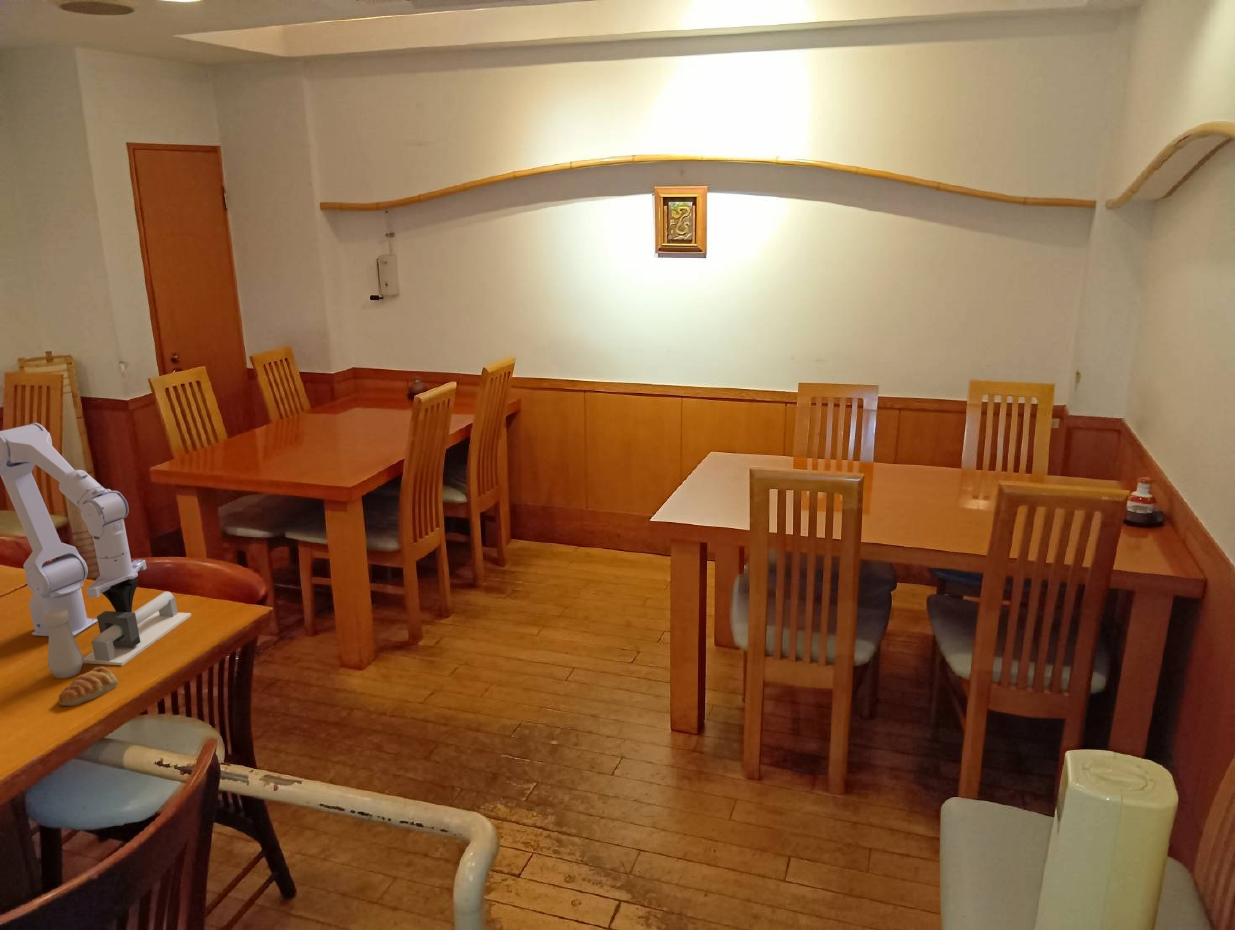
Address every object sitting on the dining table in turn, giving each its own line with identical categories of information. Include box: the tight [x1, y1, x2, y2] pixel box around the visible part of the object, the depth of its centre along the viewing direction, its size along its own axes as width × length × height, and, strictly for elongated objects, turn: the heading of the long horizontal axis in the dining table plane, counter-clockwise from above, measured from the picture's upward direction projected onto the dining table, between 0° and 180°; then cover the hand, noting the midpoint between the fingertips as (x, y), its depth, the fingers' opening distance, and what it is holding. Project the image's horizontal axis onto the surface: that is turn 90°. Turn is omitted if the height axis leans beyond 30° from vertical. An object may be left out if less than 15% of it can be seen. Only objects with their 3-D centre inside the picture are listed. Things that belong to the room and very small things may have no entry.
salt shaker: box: [43, 609, 84, 680], centre depth 165 cm, size 6×6×13 cm
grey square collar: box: [96, 610, 140, 648], centre depth 175 cm, size 2×7×7 cm, turn 82°
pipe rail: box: [83, 591, 192, 666], centre depth 180 cm, size 22×9×6 cm, turn 172°
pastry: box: [58, 666, 119, 706], centre depth 159 cm, size 9×7×4 cm
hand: (124, 615), depth 176 cm, fingers closed
